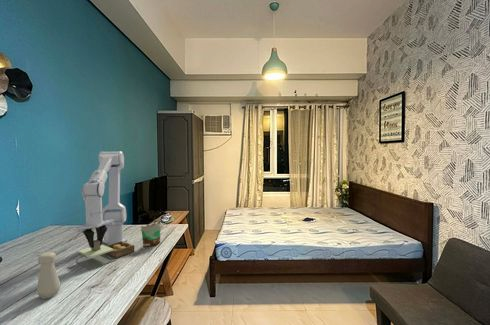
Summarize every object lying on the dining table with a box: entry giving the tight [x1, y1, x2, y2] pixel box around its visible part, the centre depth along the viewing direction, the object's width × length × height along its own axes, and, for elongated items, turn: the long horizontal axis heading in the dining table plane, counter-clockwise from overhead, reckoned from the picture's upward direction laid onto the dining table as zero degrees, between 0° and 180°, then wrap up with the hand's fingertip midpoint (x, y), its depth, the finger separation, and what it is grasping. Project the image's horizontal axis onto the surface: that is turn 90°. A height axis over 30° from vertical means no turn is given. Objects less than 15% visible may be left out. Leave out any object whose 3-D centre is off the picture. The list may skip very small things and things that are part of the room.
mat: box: [75, 254, 117, 271], centre depth 103 cm, size 12×10×1 cm
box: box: [105, 241, 135, 259], centre depth 112 cm, size 10×8×3 cm
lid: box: [77, 239, 113, 258], centre depth 103 cm, size 11×9×4 cm
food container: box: [140, 219, 163, 248], centre depth 122 cm, size 12×6×10 cm, turn 168°
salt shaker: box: [36, 251, 61, 300], centre depth 79 cm, size 6×6×13 cm
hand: (95, 246), depth 103 cm, fingers closed on lid, 2 cm apart
